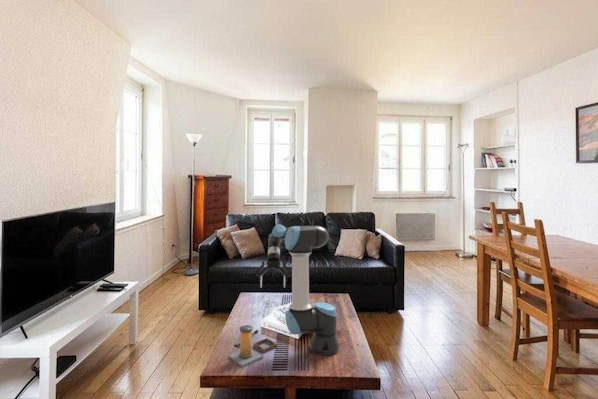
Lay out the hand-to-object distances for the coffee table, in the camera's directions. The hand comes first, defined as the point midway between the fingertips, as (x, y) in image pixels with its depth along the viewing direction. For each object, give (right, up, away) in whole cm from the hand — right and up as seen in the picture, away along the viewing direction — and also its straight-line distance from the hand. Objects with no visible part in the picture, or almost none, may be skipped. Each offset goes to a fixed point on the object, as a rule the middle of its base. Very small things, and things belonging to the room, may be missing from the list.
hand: (272, 286), depth 189 cm
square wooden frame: (-2, -27, -18) cm, 32 cm away
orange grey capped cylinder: (-11, -26, -29) cm, 41 cm away
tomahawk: (-12, -27, -10) cm, 31 cm away
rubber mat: (-11, -27, -29) cm, 41 cm away
